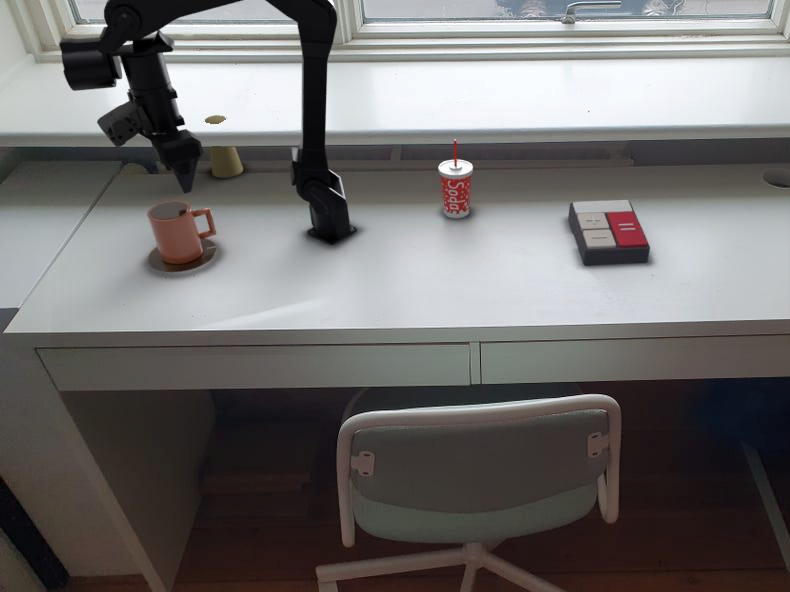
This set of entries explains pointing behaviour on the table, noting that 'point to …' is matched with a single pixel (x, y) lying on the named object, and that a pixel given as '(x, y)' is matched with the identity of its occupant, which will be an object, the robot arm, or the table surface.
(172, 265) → the coaster
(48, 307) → the table surface
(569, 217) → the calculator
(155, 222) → the mug
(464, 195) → the beverage cup
